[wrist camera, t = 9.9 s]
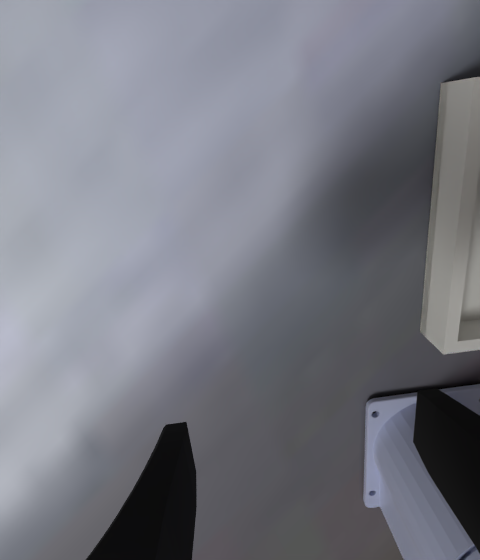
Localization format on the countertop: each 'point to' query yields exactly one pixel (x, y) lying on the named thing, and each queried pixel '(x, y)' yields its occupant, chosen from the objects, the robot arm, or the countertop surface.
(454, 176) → the tray
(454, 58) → the countertop surface
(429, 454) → the robot arm
